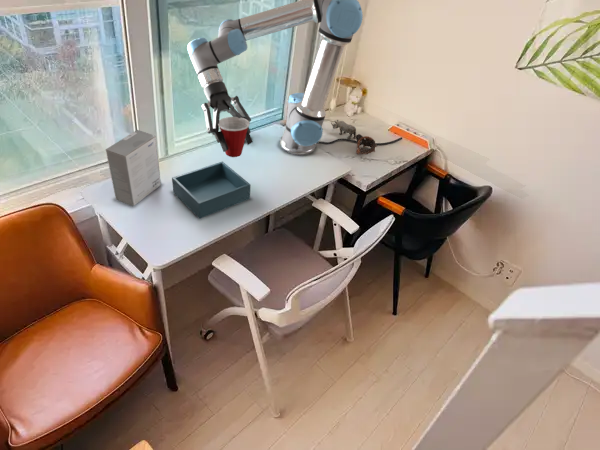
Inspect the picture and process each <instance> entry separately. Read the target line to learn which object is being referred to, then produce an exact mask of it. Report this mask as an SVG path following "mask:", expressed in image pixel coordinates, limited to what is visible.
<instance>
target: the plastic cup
mask: <svg viewBox="0 0 600 450" xmlns="http://www.w3.org/2000/svg"><path fill="white" fill-rule="evenodd" d="M250 123H251V121H250V122H249V121H248V120H247V119H245V118H238V117H233V116H226V117H223V118H221V119H219V124H218V126H219V131H222V134H223V136H224V139H225V141H226V144H227V146H228V150H227V151H225V152H224V153H225V155H226V156H227V157H230V158H238V157H241V155H242V153H243V151H244V150H243V149H244V146H245V143H246V140H245V137H246V133H247V129H248V127H249V128H250Z"/></svg>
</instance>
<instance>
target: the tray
mask: <svg viewBox="0 0 600 450" xmlns="http://www.w3.org/2000/svg"><path fill="white" fill-rule="evenodd" d="M171 181H172V193H173V195H175V196H176V197H177V198H178V199H179V200H180V201H181V202H182V203H183V204H184V205H186V207H187V208H188V209H189V210H190V211H191V212H192V213H193V214H194V215H195V216H196V217H197V218H198V219H202V218H205V217H207V216H210V215H213V214H215V213H218V212H220V211H224V210H225V209H228V208H230V207H233V206H235V205H238V204H241V203H243V202H246V201H248V200H250V199H251V183H249V182H248V181H247V180H246V179H244V177H243V176H241V175H240V174H238V173H237V172H236V171H235V170H234V169H233V168H231V167H230V166H229V165H228V164H226V163H225V162H224V161H220V162H219V161H218V162H215V163H213V164H210V165H207V166H204V167H200V168H198V169H195V170H194V169H193V170H191V171H189V172H185V173H182V174H179V175H176V176H173V177H171Z"/></svg>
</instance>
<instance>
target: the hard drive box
mask: <svg viewBox="0 0 600 450" xmlns="http://www.w3.org/2000/svg"><path fill="white" fill-rule="evenodd" d="M105 153H106V158H107V163H108V167H109V172H110V178H111V182H112V188H113V193H114V197H115V200H116V201H118V202H120V203H123V204H125V205H128V206H131V207H134V206H136V205H137V204H138V203H140V202H141V201H143V199H145V198H146V197H148V196H149V195H150V194H151V193H152V192H154V191H155V190H156V189H158V188H159V187H160V186H161V185H162V179H161V171H160V163H159V156H158V155H159V154H158V147H157V137H156V135H154V134H152V133H149V132H146V131H142V130H140V129H136V130H135V131H133V132H131V133H129V134H128V135H126V136H124V137H123V138H122V139H120V140H118V141H117V142H115V143H114V144H111V146H109V147H107V148H106V149H105Z"/></svg>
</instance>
